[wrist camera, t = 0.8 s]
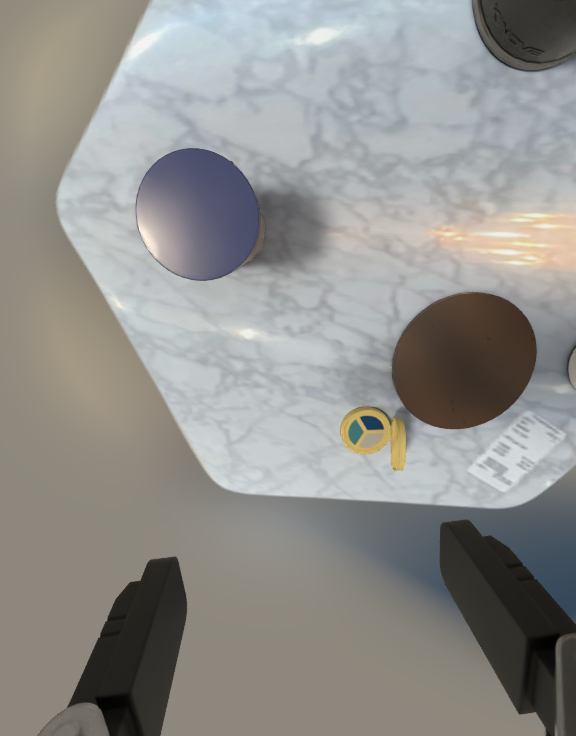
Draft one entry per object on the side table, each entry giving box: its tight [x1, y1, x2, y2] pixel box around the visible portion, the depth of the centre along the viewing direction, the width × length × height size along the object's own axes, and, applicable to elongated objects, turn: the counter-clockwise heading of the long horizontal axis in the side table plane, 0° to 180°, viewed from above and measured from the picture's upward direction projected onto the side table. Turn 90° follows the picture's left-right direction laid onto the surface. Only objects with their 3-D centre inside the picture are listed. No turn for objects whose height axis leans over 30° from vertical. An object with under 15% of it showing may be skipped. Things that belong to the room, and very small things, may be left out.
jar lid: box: [136, 148, 261, 281], centre depth 18 cm, size 6×6×2 cm
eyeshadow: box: [341, 407, 406, 471], centre depth 31 cm, size 4×5×5 cm
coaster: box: [392, 292, 537, 429], centre depth 31 cm, size 12×12×1 cm
